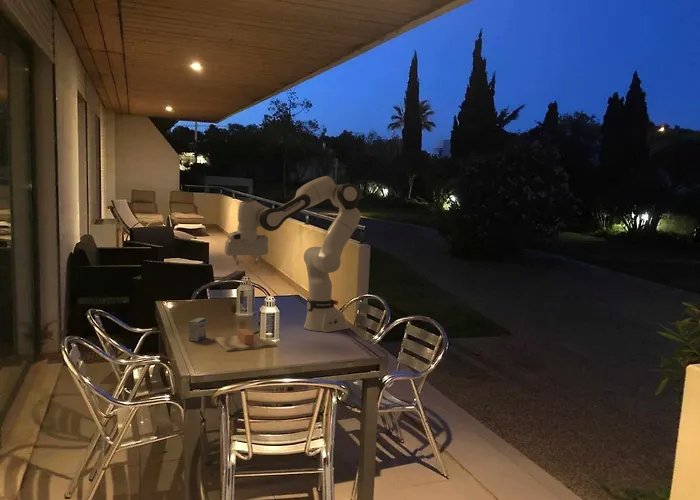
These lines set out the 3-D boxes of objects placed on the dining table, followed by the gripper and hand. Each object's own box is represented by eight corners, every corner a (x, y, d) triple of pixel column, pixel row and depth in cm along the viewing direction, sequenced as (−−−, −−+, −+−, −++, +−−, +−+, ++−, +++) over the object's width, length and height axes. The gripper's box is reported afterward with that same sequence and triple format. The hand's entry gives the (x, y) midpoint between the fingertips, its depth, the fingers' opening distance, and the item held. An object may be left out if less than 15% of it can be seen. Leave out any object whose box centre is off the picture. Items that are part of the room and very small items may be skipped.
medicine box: (197, 342, 241) (198, 322, 240) (188, 340, 242) (188, 321, 241) (206, 337, 249) (206, 318, 248) (196, 336, 250) (197, 317, 249)
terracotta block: (246, 328, 247) (254, 334, 239) (245, 337, 248) (253, 343, 239) (237, 329, 245) (245, 335, 237) (237, 338, 246) (244, 344, 237)
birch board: (261, 335, 256) (261, 333, 256) (276, 346, 241) (276, 343, 241) (213, 340, 245) (213, 337, 245) (226, 351, 230) (226, 349, 230)
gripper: (265, 234, 269) (264, 262, 271) (223, 234, 259) (223, 264, 260) (270, 235, 264) (270, 264, 265) (228, 235, 253) (227, 266, 255)
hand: (246, 264), depth 263 cm, fingers open, 8 cm apart
